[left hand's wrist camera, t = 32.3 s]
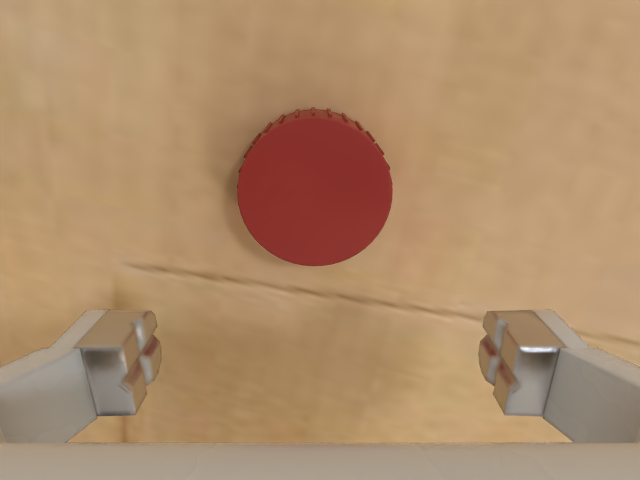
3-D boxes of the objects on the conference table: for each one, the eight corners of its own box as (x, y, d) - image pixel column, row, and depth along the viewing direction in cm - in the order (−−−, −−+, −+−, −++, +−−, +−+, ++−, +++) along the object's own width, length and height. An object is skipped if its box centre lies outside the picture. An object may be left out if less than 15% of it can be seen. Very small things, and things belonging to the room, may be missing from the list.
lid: (412, 182, 16) (427, 200, 14) (311, 267, 17) (311, 294, 15) (318, 73, 14) (319, 76, 12) (215, 177, 16) (201, 194, 14)
